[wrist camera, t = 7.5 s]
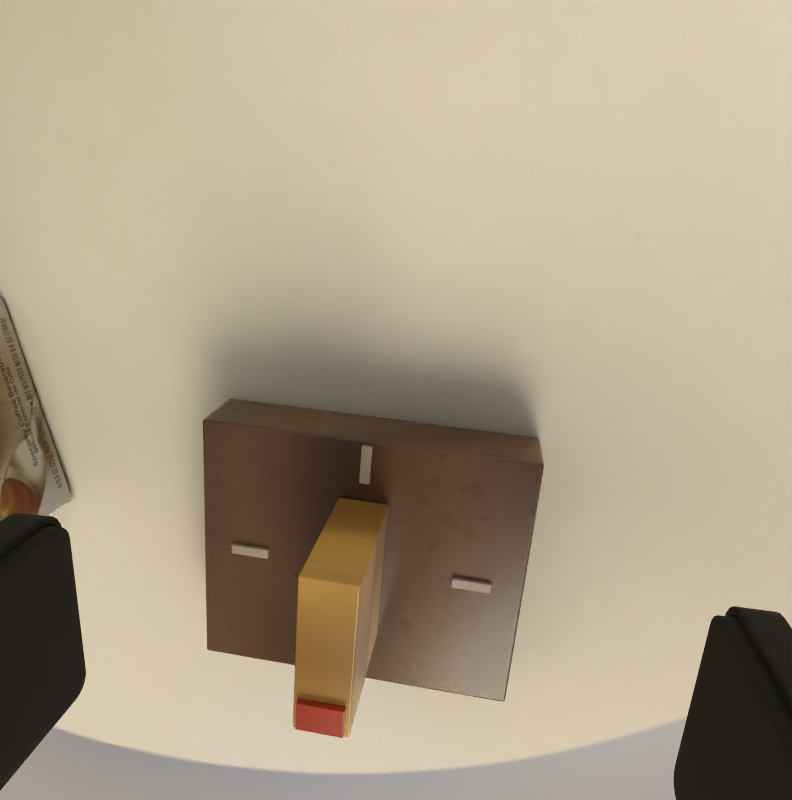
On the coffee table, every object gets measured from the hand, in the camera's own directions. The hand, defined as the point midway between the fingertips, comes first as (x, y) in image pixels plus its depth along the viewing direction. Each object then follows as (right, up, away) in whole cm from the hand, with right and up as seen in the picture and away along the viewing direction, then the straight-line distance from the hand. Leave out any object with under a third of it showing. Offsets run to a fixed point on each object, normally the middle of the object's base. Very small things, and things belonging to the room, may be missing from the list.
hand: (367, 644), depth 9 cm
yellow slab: (-1, -3, +15) cm, 15 cm away
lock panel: (-1, -2, +17) cm, 17 cm away
